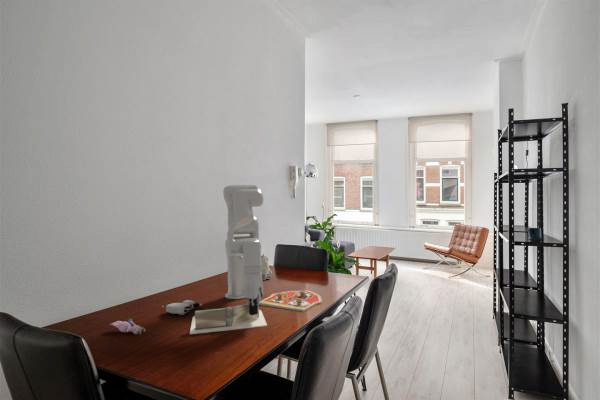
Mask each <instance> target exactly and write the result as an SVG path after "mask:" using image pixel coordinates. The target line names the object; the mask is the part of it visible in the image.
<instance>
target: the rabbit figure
mask: <svg viewBox="0 0 600 400" xmlns="http://www.w3.org/2000/svg"><path fill="white" fill-rule="evenodd" d="M109 325H110V326H111V325H112V326H113V327H115V328H117V329H118V330H119V331H120V332H121V333H128V332H132V333H133V334H134V335H137V334H142V331H143V332H146V328H144V327H143V326H140V325H138V324H137V325H136V324H135V322H134V321H133V318H129V319H128V321H123V320H122V321H121V320H116V321H114V322H112V323H110V324H109Z"/></svg>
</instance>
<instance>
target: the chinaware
mask: <svg viewBox="0 0 600 400" xmlns="http://www.w3.org/2000/svg"><path fill="white" fill-rule="evenodd" d="M261 274H262V280H263V281H267V280H266V279H269V280H271V279H270V278H272V277H273V272H272V269H270V265H269V257H268V256H267V255H266V254H265V253H263V254H262V255H261Z"/></svg>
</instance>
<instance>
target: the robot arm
mask: <svg viewBox="0 0 600 400" xmlns="http://www.w3.org/2000/svg"><path fill="white" fill-rule="evenodd" d="M223 199H224V202H225V204H226V207H227V227H228V228H227V233H226V240H225V243H224V245H225V251H226V259H227V288H228V289H227V290H228V291H227V293H225V295H224V297H225V298H226V299H228V300H241V299H246V300H247V304H249V314H250V315H255V314H258V303H259V302H261V301H262V300H263V297H264V280H262V274H261V256H262V242H261V241H260V240H259V238H260V237H259V236H260V235H259V230H260V229H259V228H260V227H259V220H258V218H257V217H256V216H255V215H254V213H253V212H254V211H253V207H261V206H262V205H263V204H264V194H263V192H262V190H261V189H260V187H258V185H255V184H230V185H226V186H224V188H223ZM235 235H241V236H235Z"/></svg>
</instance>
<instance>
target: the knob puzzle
mask: <svg viewBox="0 0 600 400" xmlns="http://www.w3.org/2000/svg"><path fill="white" fill-rule="evenodd" d="M322 303H323V299H322V297H321V295H320V294H318V293H316V292H314V291H311V290H309V289H308V290H288V291H281V292H276V293H275V292H274V293H270V295H269V296H268V297H266V298H264V299H263V298H262V301H261V302H259V306H264V307H271V308H275V309H276V308H278V309H283V310H290V311H297V312H303V313H304V312H306V311H308V310H310V309H312V308H314V307H315V306H317V305H322Z"/></svg>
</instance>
